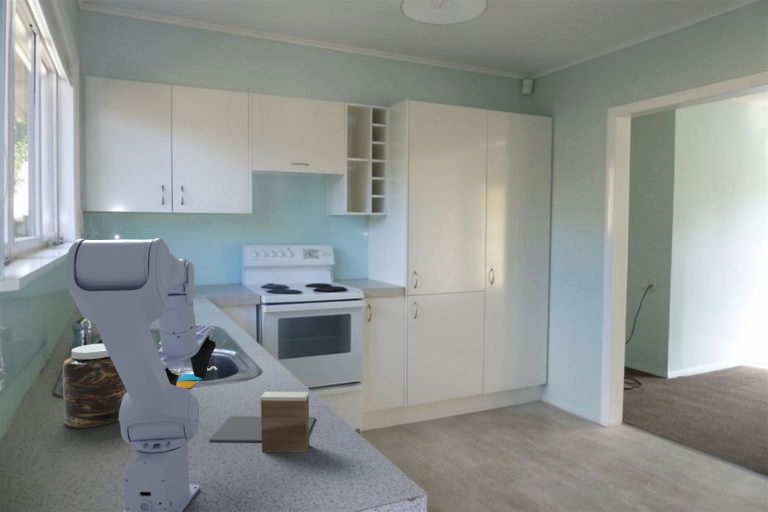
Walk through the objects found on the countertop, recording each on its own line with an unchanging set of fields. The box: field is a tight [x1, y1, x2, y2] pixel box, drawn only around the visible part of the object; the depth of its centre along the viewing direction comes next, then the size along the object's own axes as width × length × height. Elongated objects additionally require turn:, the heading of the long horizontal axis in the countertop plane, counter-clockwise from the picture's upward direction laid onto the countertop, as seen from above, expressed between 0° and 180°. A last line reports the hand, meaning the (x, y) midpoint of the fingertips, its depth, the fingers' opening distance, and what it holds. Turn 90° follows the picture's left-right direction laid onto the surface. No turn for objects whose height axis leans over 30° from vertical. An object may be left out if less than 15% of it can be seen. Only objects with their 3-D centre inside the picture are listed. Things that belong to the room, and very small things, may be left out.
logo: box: [169, 365, 218, 390], centre depth 140 cm, size 23×1×20 cm
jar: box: [62, 343, 127, 429], centre depth 113 cm, size 12×12×15 cm
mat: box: [209, 415, 316, 443], centre depth 107 cm, size 12×18×1 cm, turn 88°
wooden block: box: [260, 391, 310, 453], centre depth 98 cm, size 3×8×10 cm, turn 88°
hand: (185, 388), depth 96 cm, fingers open, 7 cm apart
